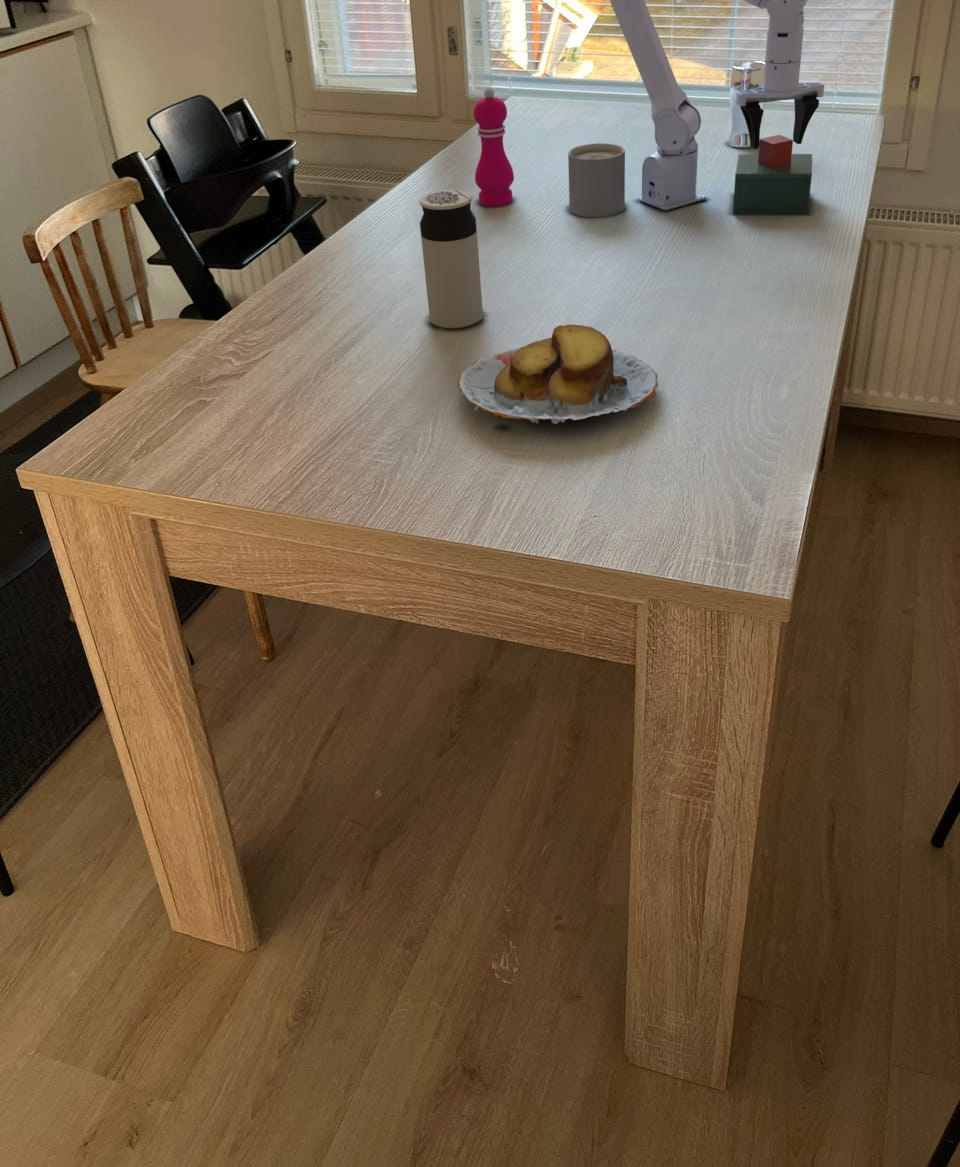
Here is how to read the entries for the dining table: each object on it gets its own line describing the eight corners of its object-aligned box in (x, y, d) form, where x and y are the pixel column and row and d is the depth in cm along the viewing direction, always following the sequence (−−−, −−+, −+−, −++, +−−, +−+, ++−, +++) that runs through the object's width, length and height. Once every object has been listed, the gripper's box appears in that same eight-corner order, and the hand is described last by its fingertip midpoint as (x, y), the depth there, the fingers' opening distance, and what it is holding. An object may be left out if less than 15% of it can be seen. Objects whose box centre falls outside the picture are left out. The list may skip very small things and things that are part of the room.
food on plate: (422, 395, 148) (417, 349, 144) (564, 338, 160) (563, 294, 156) (549, 464, 131) (547, 414, 127) (697, 394, 143) (699, 346, 139)
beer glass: (764, 147, 226) (770, 67, 217) (729, 149, 226) (734, 70, 218) (758, 137, 232) (764, 59, 223) (724, 140, 232) (728, 62, 223)
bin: (807, 214, 193) (811, 176, 189) (732, 214, 196) (735, 176, 192) (807, 194, 201) (811, 158, 197) (736, 194, 204) (738, 158, 200)
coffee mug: (617, 218, 198) (617, 160, 192) (563, 216, 201) (561, 158, 195) (633, 194, 208) (634, 138, 202) (581, 192, 211) (580, 137, 205)
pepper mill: (516, 194, 213) (510, 82, 201) (513, 206, 207) (507, 91, 195) (478, 196, 214) (470, 84, 202) (474, 208, 208) (466, 94, 196)
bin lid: (811, 178, 189) (811, 173, 188) (735, 177, 192) (735, 173, 191) (811, 157, 197) (812, 153, 197) (738, 158, 200) (738, 154, 200)
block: (790, 164, 193) (793, 139, 191) (771, 168, 192) (773, 144, 190) (777, 158, 196) (779, 134, 194) (757, 162, 195) (759, 138, 193)
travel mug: (437, 333, 164) (424, 210, 153) (424, 313, 170) (411, 194, 159) (489, 324, 165) (480, 201, 154) (475, 304, 171) (465, 185, 161)
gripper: (815, 50, 188) (807, 134, 197) (732, 59, 187) (727, 143, 195) (832, 58, 183) (823, 144, 191) (746, 68, 182) (741, 154, 190)
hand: (775, 145), depth 193 cm, fingers open, 7 cm apart
